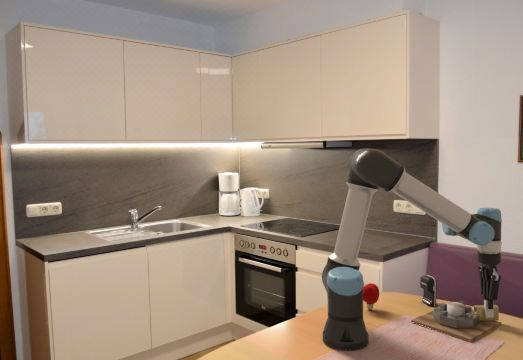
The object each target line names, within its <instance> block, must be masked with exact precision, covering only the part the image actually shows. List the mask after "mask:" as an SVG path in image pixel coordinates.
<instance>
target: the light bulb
mask: <svg viewBox="0 0 523 360" xmlns="http://www.w3.org/2000/svg"><path fill="white" fill-rule="evenodd" d="M379 298H380V289H379V287H378V286H377V285H376V284H375V283H367V284H366V285H364V287H363V302H365V304H366V305H365V306H366V309H367V310H369V311H372V310H373V309H374V304H376V303H377V302H378V301H379Z"/></svg>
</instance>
